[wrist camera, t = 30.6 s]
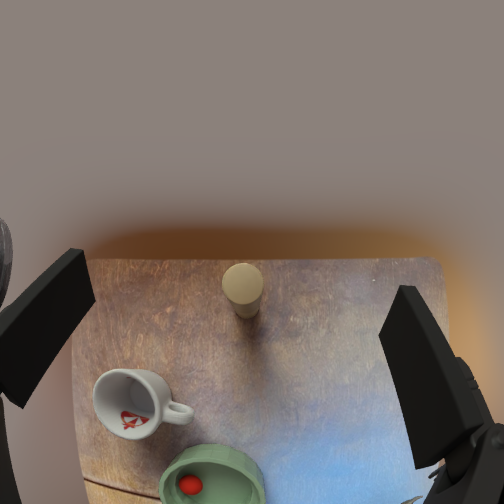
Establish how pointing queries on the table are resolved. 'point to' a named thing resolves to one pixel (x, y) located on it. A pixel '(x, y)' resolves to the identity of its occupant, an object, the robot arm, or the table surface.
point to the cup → (136, 403)
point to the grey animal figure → (412, 500)
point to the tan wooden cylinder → (243, 289)
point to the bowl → (214, 477)
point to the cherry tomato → (190, 484)
